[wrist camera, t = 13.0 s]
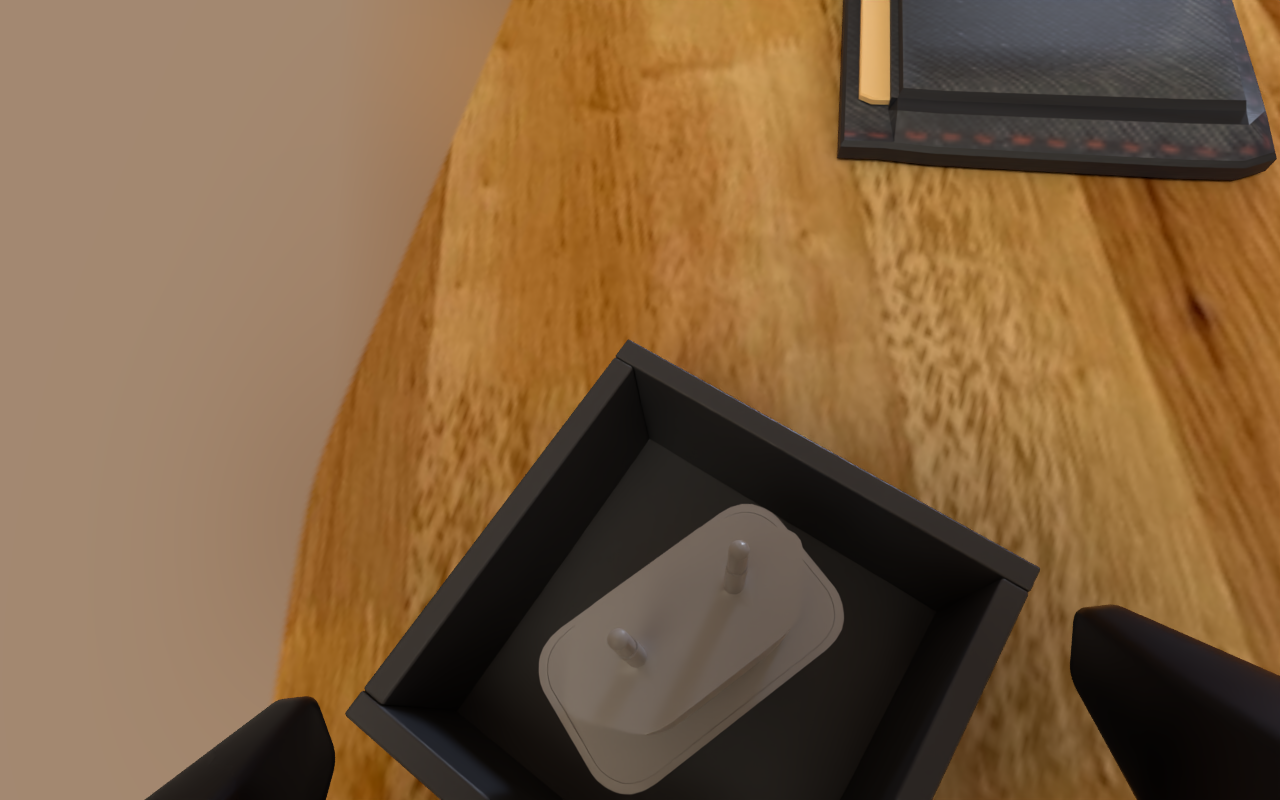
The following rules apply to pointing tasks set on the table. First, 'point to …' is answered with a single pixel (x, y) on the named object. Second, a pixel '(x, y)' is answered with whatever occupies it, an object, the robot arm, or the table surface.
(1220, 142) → the wallet
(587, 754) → the power adapter
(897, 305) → the table surface
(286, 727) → the robot arm
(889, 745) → the open storage box
